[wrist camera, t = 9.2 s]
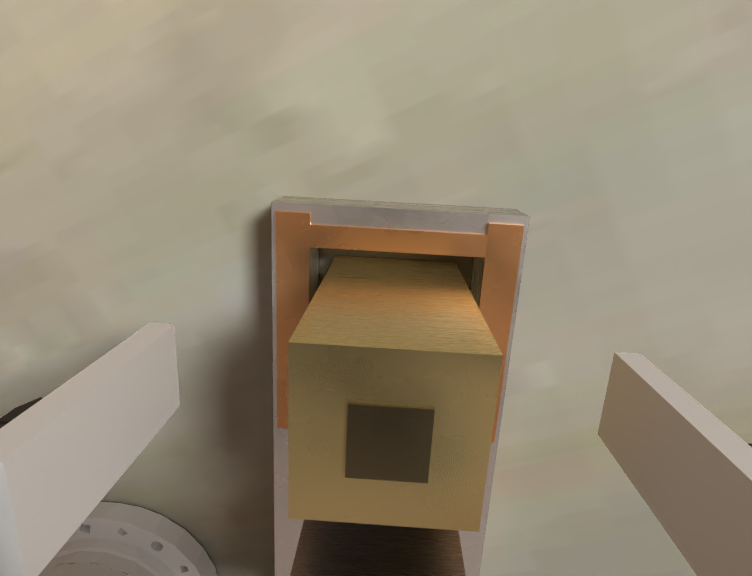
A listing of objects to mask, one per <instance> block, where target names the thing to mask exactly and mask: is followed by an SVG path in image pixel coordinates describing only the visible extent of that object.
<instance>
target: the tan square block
mask: <svg viewBox="0 0 752 576" xmlns="http://www.w3.org/2000/svg"><path fill="white" fill-rule="evenodd" d="M502 359H503V355H502V353H501V351H500V349H499V347H498V345H497V343H496V341H495V339H494V337H493V335H492V333H491V331H490V329H489V327H488V325H487V323H486V321H485V319H484V317H483V316H482V314H481V312H480V310H479V308H478V306H477V304H476V302H475V300H474V298H473V296H472V294H471V292H470V290H469V288H468V286H467V284H466V282H465V280H464V278H463V276H462V274H461V272H460V270H459V268H458V266H457V264H456V263H455V262H438V261H421V260H404V259H387V258H370V257H352V256H336V257H335V258H334V260H333V262H332V264H331V266H330V267H329V269H328V271H327V273H326V275H325V277H324V278H323V280H322V282H321V284H320V286H319V287H318V289H317V291H316V293H315V295H314V296H313V298H312V300H311V302H310V304H309V306H308V307H307V309H306V311H305V313H304V315H303V316H302V318H301V320H300V322H299V324H298V325H297V327H296V329H295V331H294V333H293V335H292V336H291V338H290V340H289V342H288V518H291V519H305V520H319V521H333V522H347V523H361V524H375V525H389V526H403V527H417V528H431V529H445V530H459V531H473V532H479V529H480V522H481V514H482V507H483V499H484V492H485V485H486V477H487V470H488V462H489V455H490V448H491V440H492V433H493V426H494V418H495V411H496V403H497V396H498V389H499V381H500V374H501V366H502Z"/></svg>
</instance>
